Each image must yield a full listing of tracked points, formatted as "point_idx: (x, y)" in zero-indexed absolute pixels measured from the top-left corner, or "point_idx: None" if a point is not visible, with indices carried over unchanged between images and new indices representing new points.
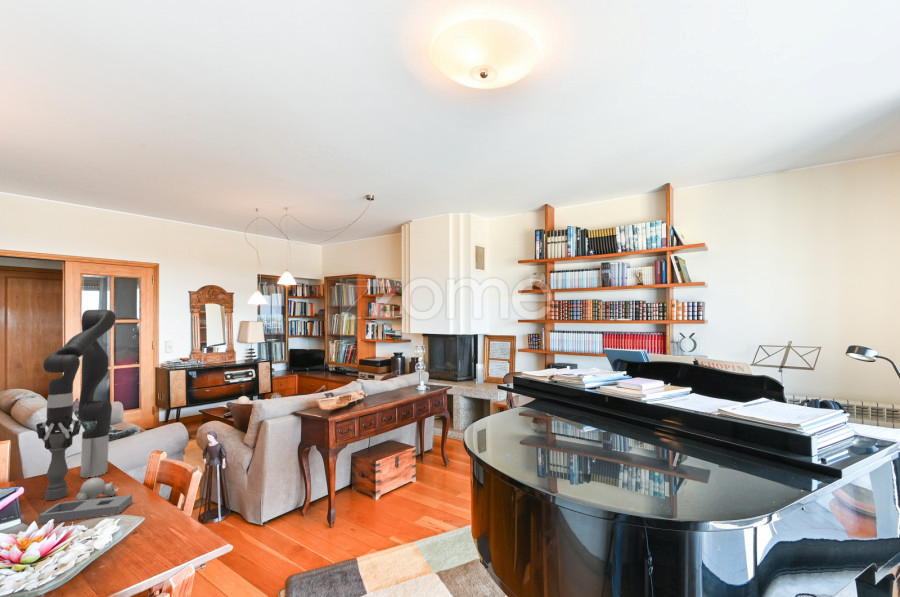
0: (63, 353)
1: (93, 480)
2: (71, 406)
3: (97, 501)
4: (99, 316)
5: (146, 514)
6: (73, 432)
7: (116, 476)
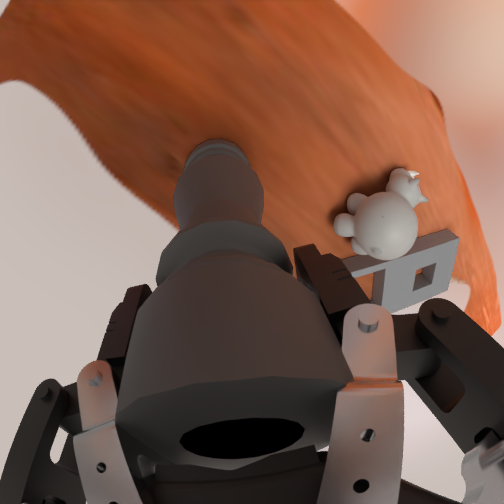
0: None
1: (406, 250)
2: None
3: (410, 272)
4: None
5: (468, 276)
6: (432, 390)
7: None
